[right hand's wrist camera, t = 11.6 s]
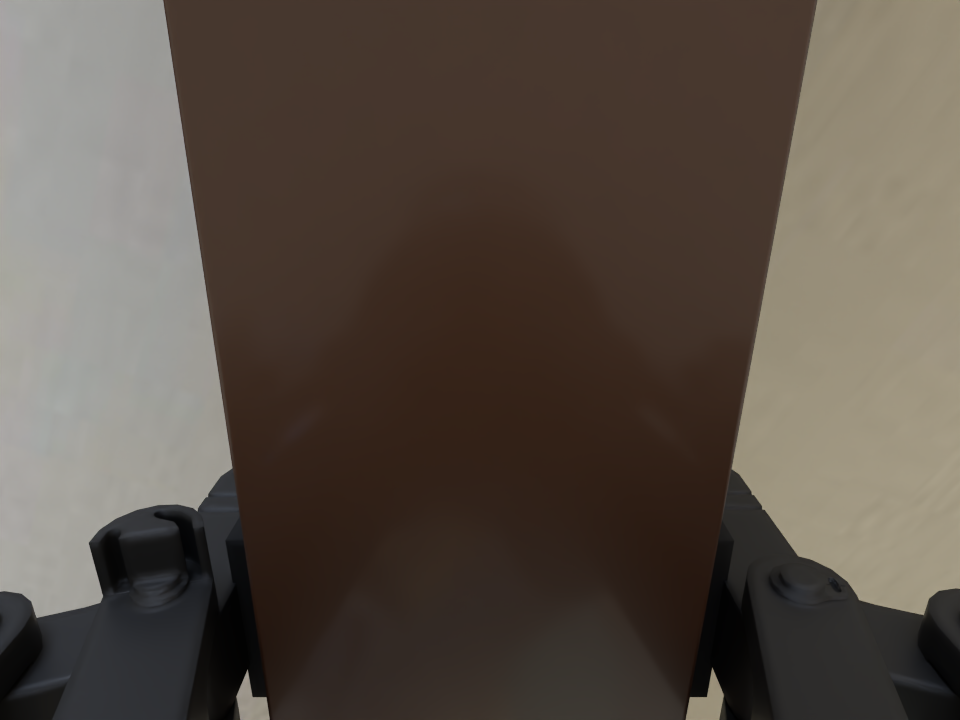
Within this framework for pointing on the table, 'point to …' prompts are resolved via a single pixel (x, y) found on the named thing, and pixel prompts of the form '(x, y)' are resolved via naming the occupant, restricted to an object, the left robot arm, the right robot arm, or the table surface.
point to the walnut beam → (484, 333)
